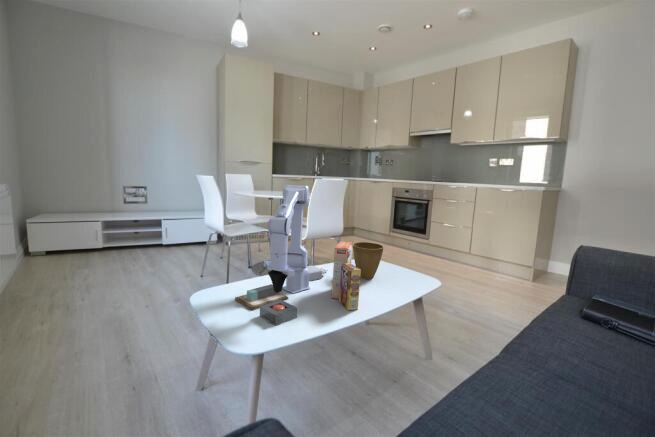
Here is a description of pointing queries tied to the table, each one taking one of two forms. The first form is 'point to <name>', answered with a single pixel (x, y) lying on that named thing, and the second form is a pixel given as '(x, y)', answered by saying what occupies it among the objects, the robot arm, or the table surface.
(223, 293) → the table surface
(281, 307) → the button
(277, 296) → the wooden picture frame
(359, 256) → the plant pot
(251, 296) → the marker
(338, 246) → the cracker box
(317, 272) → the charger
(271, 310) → the button housing
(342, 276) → the candy box
